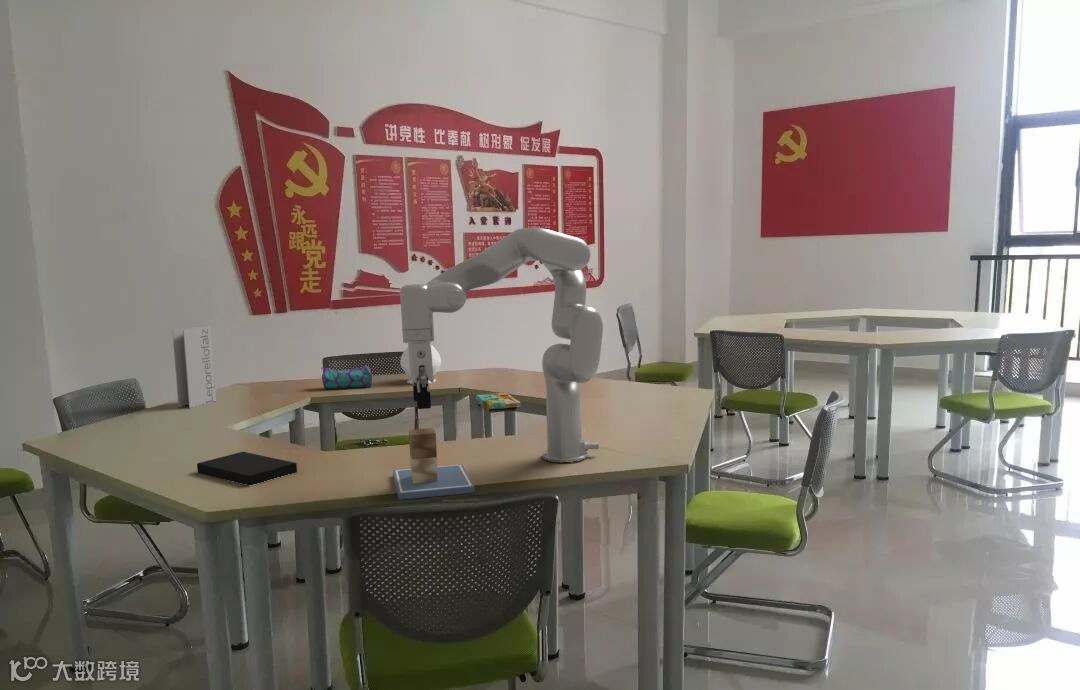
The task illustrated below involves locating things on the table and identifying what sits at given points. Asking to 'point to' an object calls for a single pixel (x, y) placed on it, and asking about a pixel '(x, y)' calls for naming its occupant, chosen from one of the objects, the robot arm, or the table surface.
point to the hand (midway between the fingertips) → (422, 404)
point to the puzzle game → (498, 402)
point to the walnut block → (422, 443)
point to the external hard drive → (246, 468)
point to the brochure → (194, 366)
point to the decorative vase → (406, 366)
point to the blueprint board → (434, 483)
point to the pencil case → (347, 378)
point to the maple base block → (423, 470)
